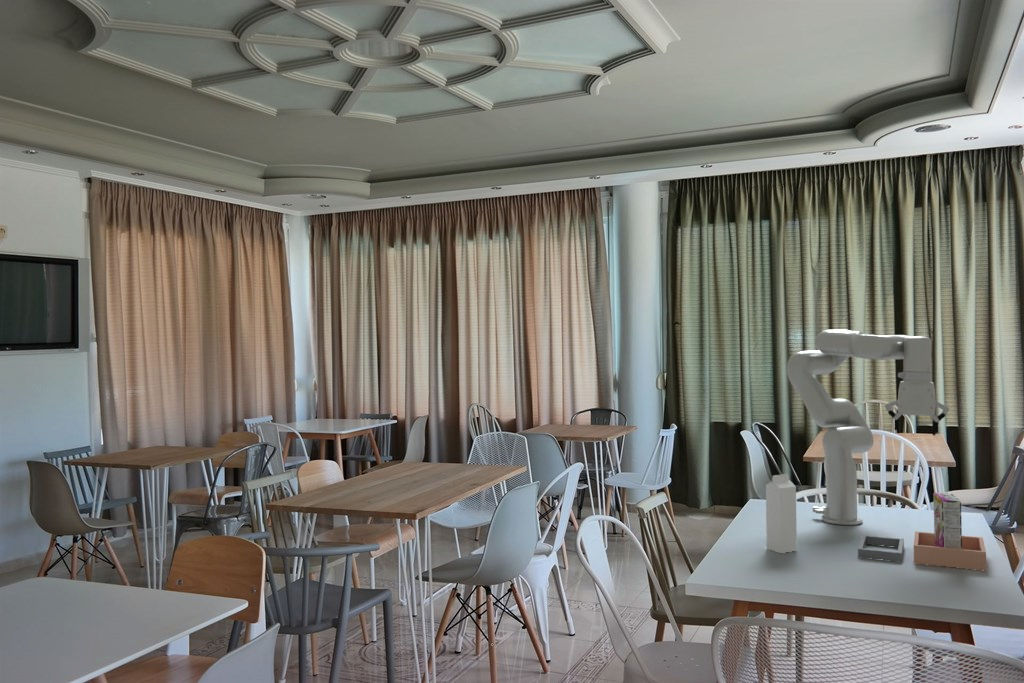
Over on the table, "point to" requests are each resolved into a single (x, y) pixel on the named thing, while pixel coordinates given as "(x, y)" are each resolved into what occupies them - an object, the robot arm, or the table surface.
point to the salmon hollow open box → (950, 552)
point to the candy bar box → (947, 521)
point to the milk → (781, 514)
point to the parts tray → (880, 553)
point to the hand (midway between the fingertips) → (916, 433)
